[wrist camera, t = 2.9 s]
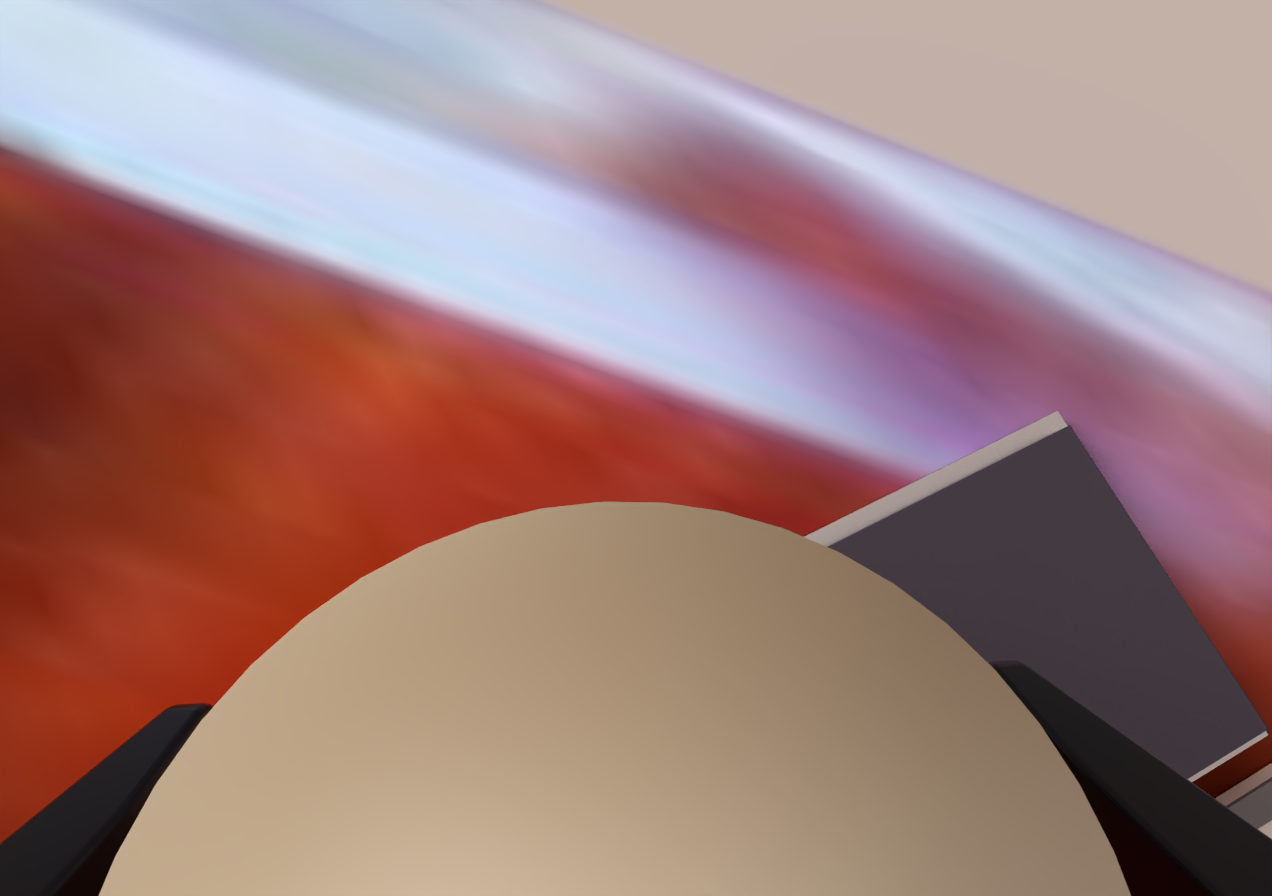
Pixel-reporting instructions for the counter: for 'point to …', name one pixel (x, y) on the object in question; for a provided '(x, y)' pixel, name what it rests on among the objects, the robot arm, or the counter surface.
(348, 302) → the counter surface
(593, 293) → the counter surface
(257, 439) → the counter surface
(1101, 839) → the stamp
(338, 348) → the counter surface
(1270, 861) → the robot arm
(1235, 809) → the marked board
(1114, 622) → the ink pad
